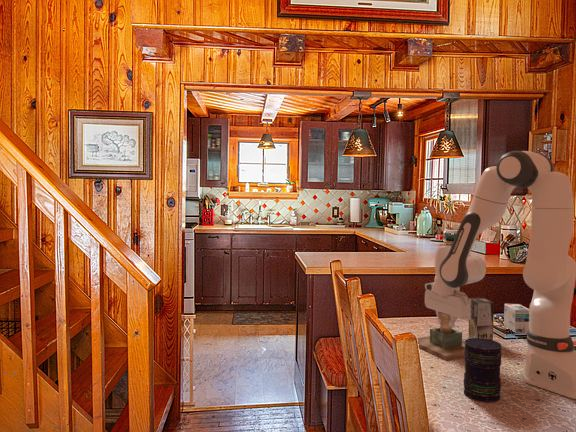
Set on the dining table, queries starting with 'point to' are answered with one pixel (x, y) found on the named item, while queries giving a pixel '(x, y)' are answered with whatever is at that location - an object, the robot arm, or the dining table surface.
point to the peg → (445, 323)
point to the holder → (443, 344)
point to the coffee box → (481, 318)
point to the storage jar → (482, 369)
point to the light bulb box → (516, 318)
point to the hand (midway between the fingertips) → (446, 325)
